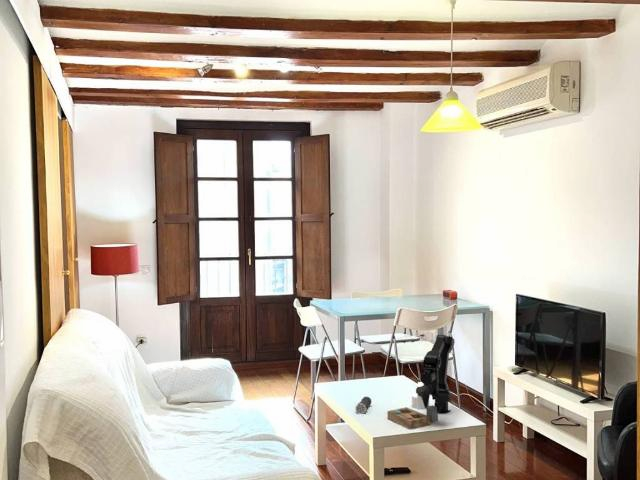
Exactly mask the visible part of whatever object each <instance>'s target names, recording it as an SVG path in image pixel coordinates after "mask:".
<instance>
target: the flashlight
mask: <svg viewBox="0 0 640 480" xmlns="http://www.w3.org/2000/svg"><path fill="white" fill-rule="evenodd" d="M371 404H372V399H371V397H370V396H363V397H362V398H361V401H360V402H358V403H357V405H355V411H356V413H357V414H359V415H363V414H365V413H366V411H367V410H368V407H370V406H371Z"/></svg>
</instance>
